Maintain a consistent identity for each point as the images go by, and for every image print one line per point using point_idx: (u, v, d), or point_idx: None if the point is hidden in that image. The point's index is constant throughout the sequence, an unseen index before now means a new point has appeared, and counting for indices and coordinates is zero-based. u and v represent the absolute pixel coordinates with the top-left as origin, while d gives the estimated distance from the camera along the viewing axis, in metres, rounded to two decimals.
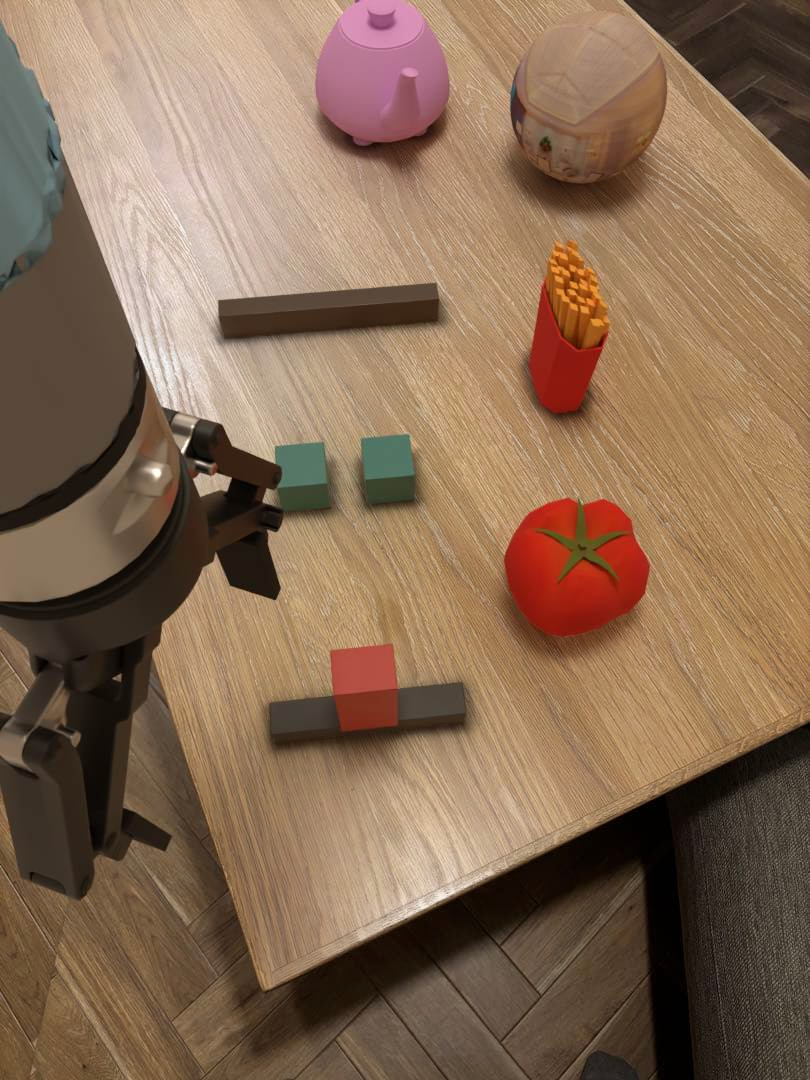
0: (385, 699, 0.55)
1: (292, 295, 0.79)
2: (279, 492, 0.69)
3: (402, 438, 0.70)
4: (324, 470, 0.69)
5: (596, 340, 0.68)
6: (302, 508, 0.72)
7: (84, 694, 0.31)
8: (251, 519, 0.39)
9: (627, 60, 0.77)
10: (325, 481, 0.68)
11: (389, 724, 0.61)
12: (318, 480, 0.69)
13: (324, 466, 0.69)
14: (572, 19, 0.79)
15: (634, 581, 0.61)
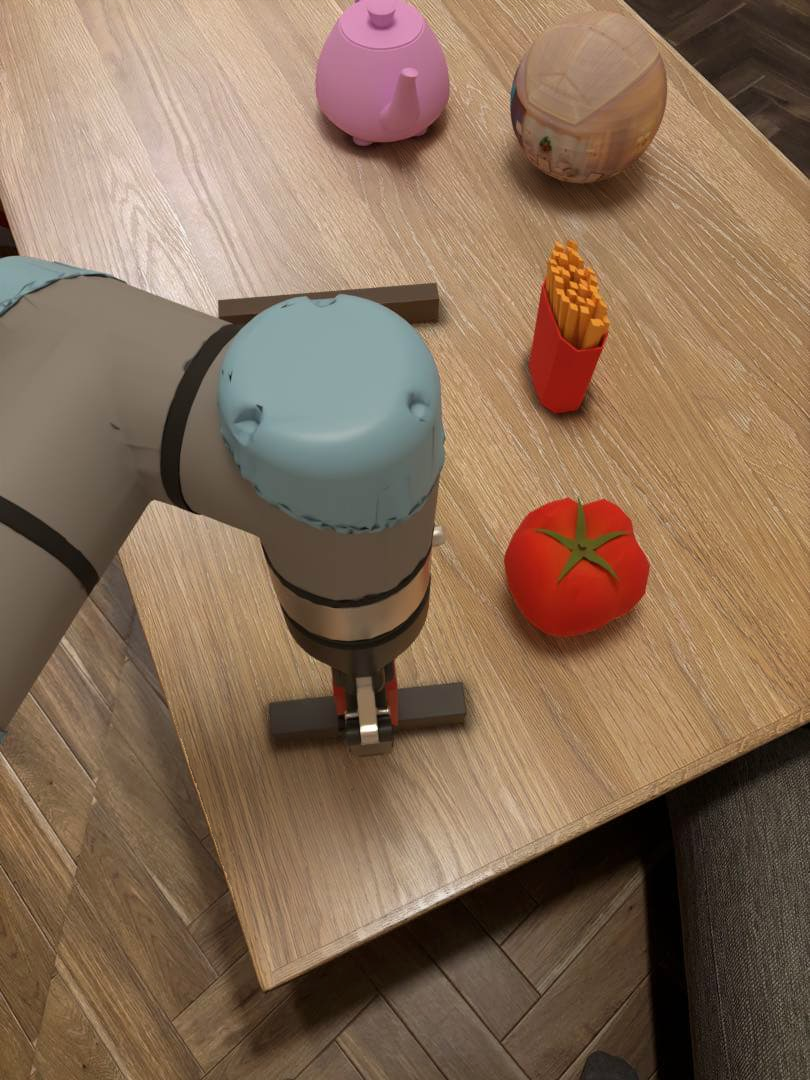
0: None
1: (292, 295, 0.79)
2: None
3: None
4: None
5: (596, 340, 0.68)
6: None
7: None
8: None
9: (627, 60, 0.77)
10: None
11: None
12: None
13: None
14: (572, 19, 0.79)
15: (634, 581, 0.61)
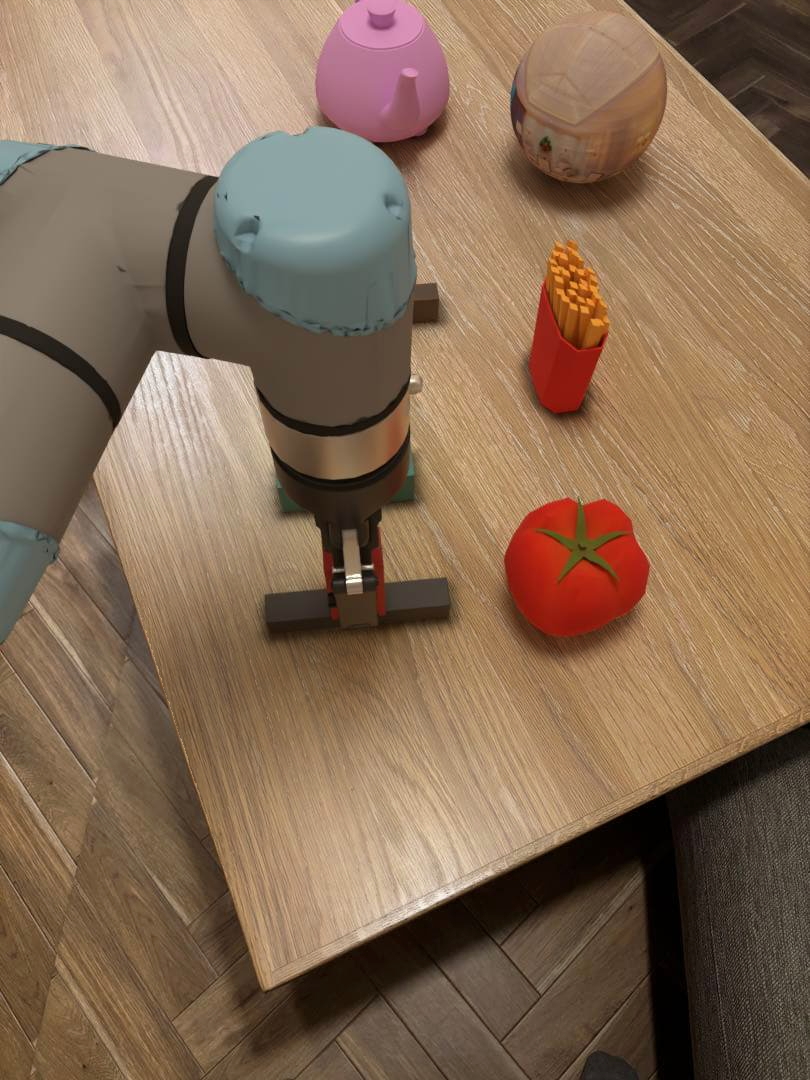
0: None
1: None
2: (279, 492, 0.69)
3: None
4: None
5: (596, 340, 0.68)
6: (302, 508, 0.72)
7: None
8: None
9: (627, 60, 0.77)
10: None
11: None
12: None
13: None
14: (572, 19, 0.79)
15: (634, 581, 0.61)
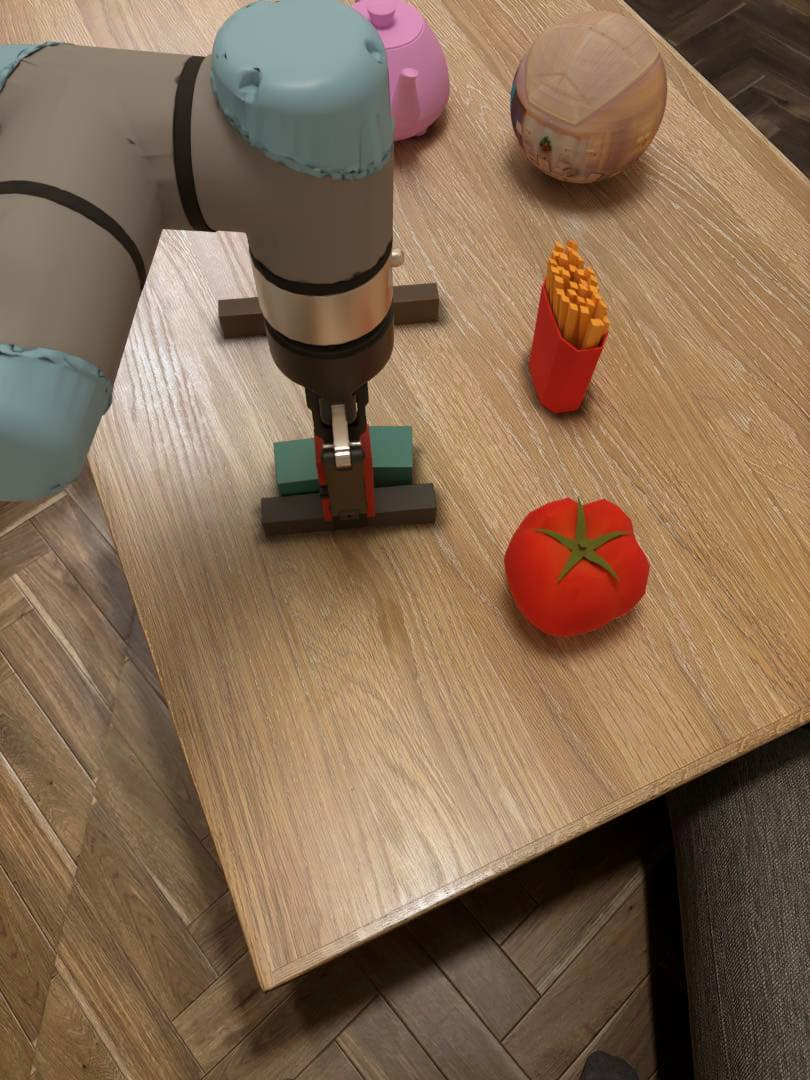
0: None
1: None
2: (279, 488, 0.69)
3: (404, 429, 0.71)
4: None
5: (596, 340, 0.68)
6: None
7: None
8: None
9: (627, 60, 0.77)
10: None
11: (367, 514, 0.68)
12: None
13: None
14: (572, 19, 0.79)
15: (634, 581, 0.61)
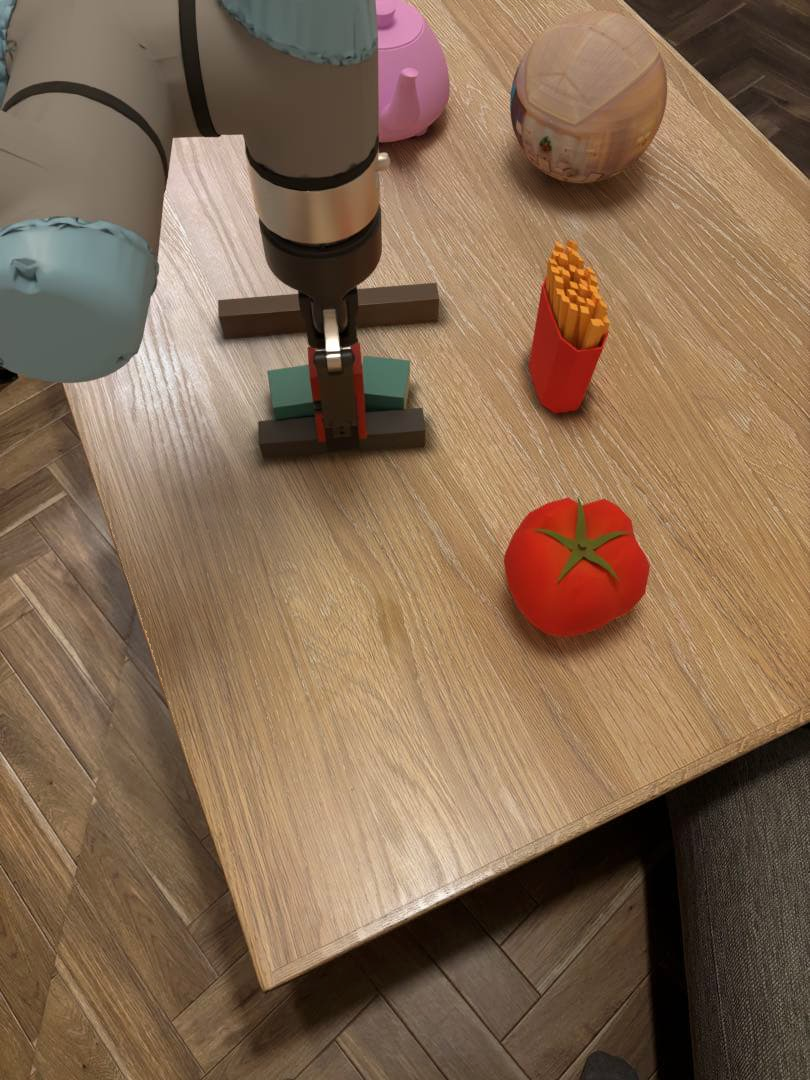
0: None
1: (292, 295, 0.79)
2: (275, 412, 0.72)
3: (402, 363, 0.74)
4: None
5: (596, 340, 0.68)
6: None
7: None
8: None
9: (627, 60, 0.77)
10: None
11: (359, 435, 0.72)
12: (311, 398, 0.72)
13: None
14: (572, 19, 0.79)
15: (634, 581, 0.61)
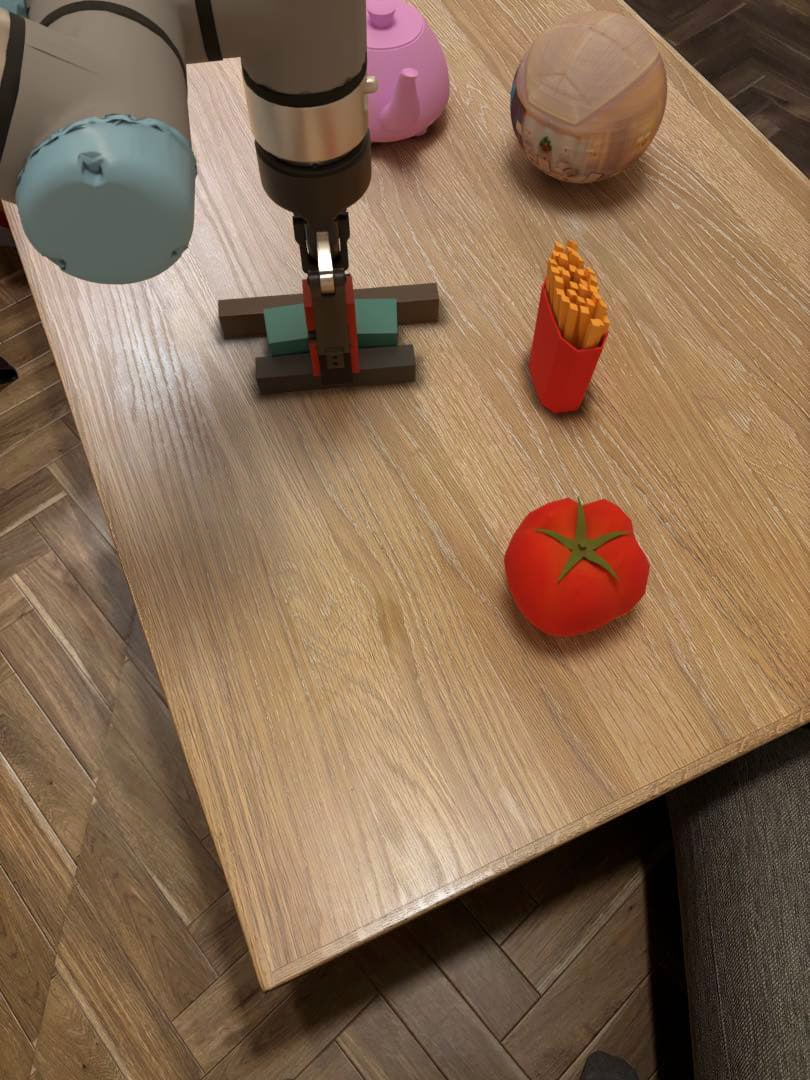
0: None
1: (292, 295, 0.79)
2: (270, 348, 0.75)
3: (389, 301, 0.77)
4: None
5: (596, 340, 0.68)
6: None
7: None
8: None
9: (627, 60, 0.77)
10: None
11: (352, 369, 0.75)
12: (305, 335, 0.75)
13: None
14: (572, 19, 0.79)
15: (634, 581, 0.61)
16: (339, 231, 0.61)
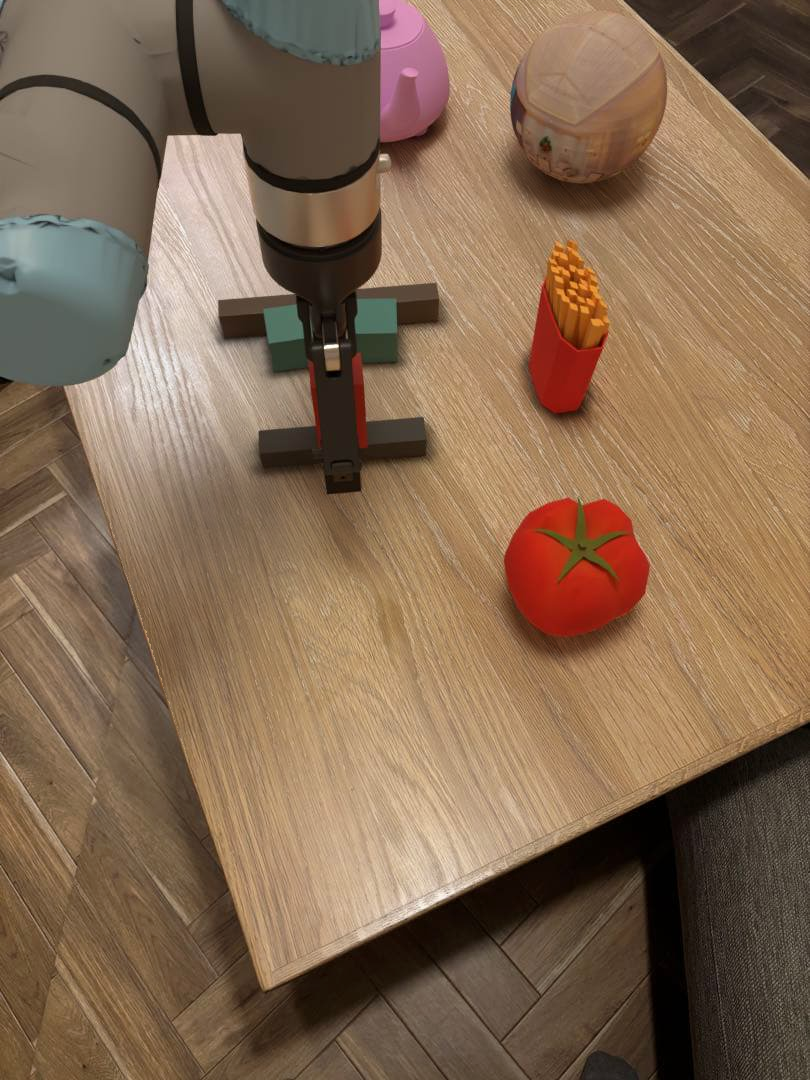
0: (355, 401, 0.66)
1: (292, 295, 0.79)
2: (270, 348, 0.75)
3: (389, 301, 0.77)
4: None
5: (596, 340, 0.68)
6: (292, 367, 0.78)
7: None
8: None
9: (627, 60, 0.77)
10: None
11: (360, 445, 0.71)
12: None
13: (310, 323, 0.76)
14: (572, 19, 0.79)
15: (634, 581, 0.61)
16: (346, 310, 0.56)
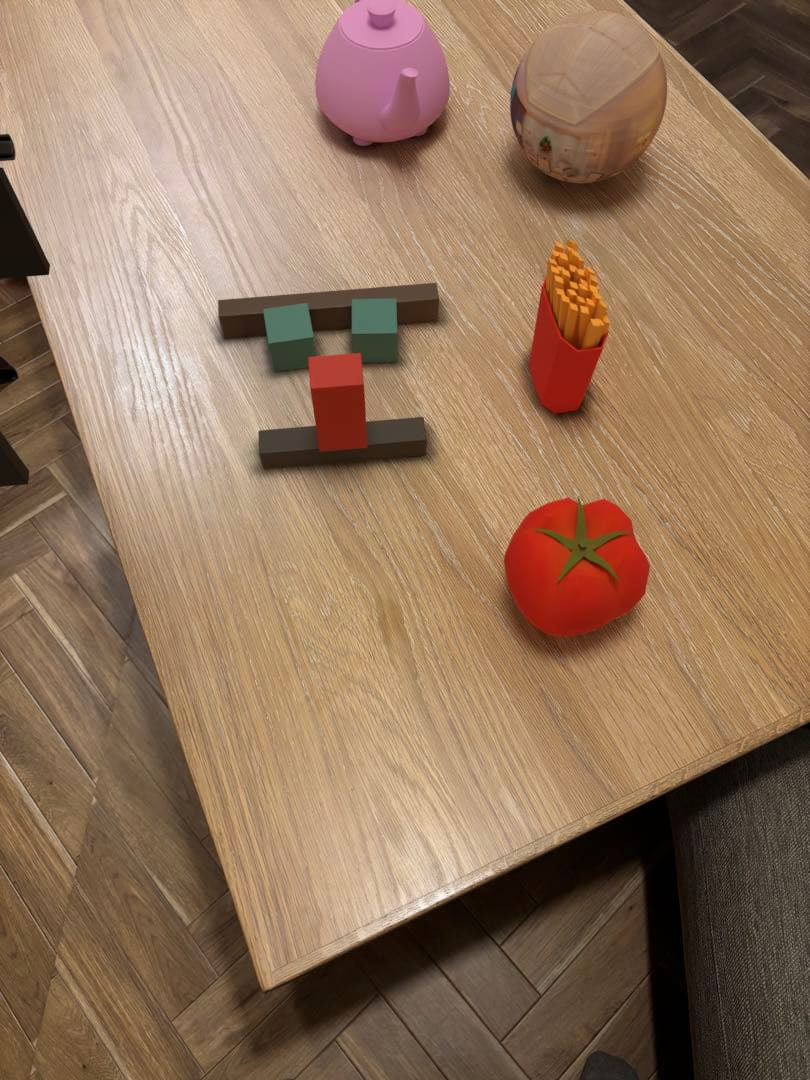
0: (355, 401, 0.66)
1: (292, 295, 0.79)
2: (270, 348, 0.75)
3: (389, 301, 0.77)
4: (310, 326, 0.76)
5: (596, 340, 0.68)
6: (292, 367, 0.78)
7: None
8: None
9: (627, 60, 0.77)
10: (311, 335, 0.75)
11: (360, 445, 0.71)
12: (305, 335, 0.75)
13: (310, 323, 0.76)
14: (572, 19, 0.79)
15: (634, 581, 0.61)
16: None
